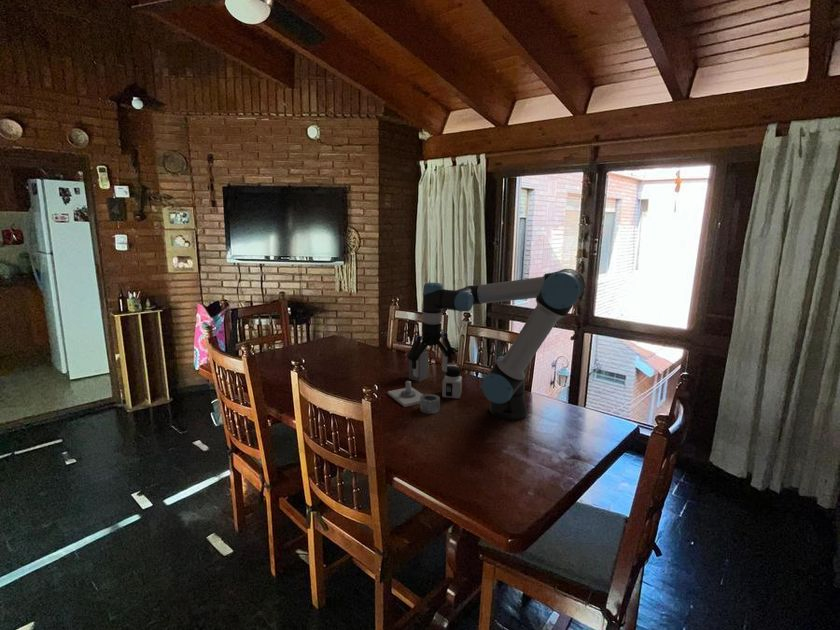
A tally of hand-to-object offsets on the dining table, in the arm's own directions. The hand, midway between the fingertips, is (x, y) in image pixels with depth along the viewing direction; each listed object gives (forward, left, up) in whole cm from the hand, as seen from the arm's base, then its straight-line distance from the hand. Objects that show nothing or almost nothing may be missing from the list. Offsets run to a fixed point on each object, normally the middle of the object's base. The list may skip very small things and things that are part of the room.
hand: (430, 373), depth 177 cm
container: (+9, -17, -16) cm, 25 cm away
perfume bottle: (+34, -14, -16) cm, 40 cm away
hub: (0, 0, -15) cm, 15 cm away
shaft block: (+15, +2, -15) cm, 21 cm away
